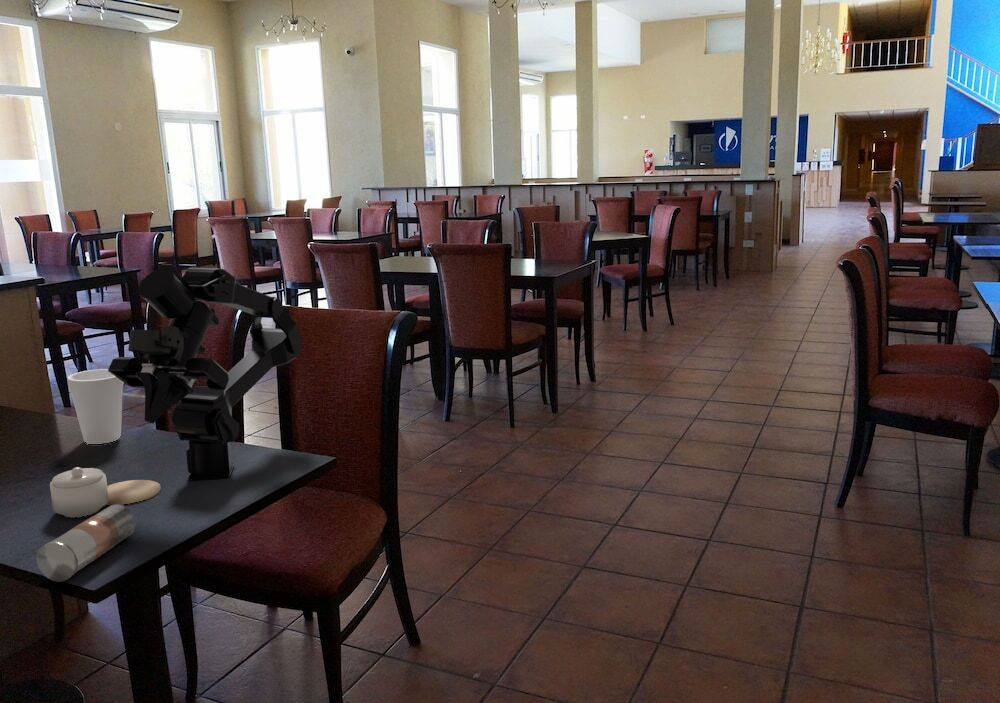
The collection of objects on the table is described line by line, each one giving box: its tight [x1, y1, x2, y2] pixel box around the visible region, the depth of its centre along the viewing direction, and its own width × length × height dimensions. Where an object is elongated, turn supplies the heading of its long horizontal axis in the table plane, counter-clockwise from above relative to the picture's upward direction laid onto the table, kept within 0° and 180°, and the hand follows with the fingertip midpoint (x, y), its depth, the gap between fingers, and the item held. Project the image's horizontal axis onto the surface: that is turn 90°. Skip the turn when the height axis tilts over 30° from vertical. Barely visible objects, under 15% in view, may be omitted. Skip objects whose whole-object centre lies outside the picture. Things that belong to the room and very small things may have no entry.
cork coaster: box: [105, 479, 162, 507], centre depth 129 cm, size 10×10×1 cm
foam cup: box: [67, 368, 125, 445], centre depth 154 cm, size 10×9×13 cm
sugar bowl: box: [49, 466, 109, 519], centre depth 122 cm, size 8×8×7 cm
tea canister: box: [36, 504, 136, 583], centre depth 107 cm, size 5×5×13 cm
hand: (148, 422), depth 121 cm, fingers closed
